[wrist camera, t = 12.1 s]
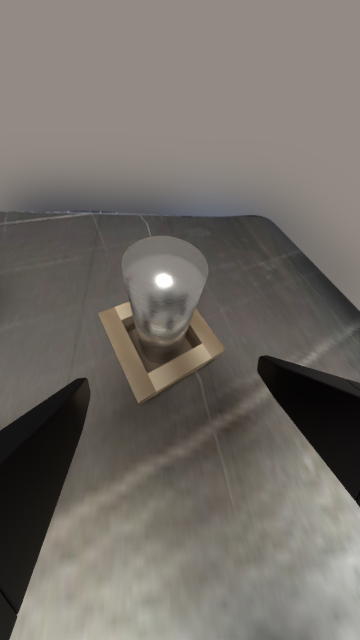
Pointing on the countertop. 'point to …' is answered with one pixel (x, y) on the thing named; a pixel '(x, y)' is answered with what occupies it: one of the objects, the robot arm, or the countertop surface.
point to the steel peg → (163, 292)
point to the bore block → (149, 375)
